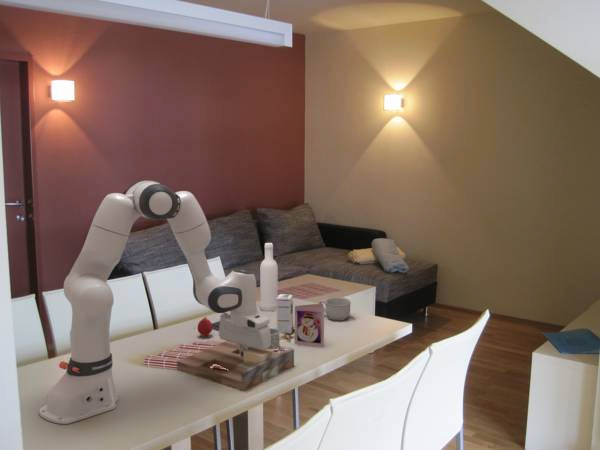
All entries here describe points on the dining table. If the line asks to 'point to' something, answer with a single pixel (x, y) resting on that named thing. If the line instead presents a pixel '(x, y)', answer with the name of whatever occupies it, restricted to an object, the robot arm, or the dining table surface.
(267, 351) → the birch block
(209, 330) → the onion
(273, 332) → the mug
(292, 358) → the board
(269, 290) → the bottle
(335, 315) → the teacup
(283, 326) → the syrup box
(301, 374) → the dining table surface
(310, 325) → the greeting card
